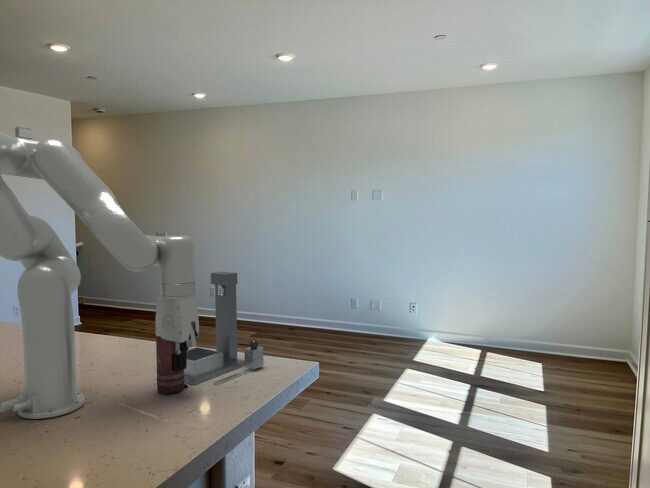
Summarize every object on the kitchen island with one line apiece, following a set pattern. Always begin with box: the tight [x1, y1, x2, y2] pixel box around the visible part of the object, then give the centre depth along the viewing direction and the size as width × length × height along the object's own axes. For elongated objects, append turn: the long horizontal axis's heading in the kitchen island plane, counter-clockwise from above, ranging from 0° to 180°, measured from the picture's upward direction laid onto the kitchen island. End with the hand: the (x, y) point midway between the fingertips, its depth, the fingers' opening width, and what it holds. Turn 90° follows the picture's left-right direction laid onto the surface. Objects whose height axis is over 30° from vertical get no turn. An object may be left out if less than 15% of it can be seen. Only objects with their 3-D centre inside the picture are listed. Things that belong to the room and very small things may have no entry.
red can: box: [155, 335, 185, 395], centre depth 111 cm, size 6×6×14 cm
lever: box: [244, 339, 264, 371], centre depth 126 cm, size 4×3×7 cm
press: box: [184, 271, 261, 386], centre depth 123 cm, size 19×17×25 cm
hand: (178, 369), depth 109 cm, fingers closed, pressing on red can
